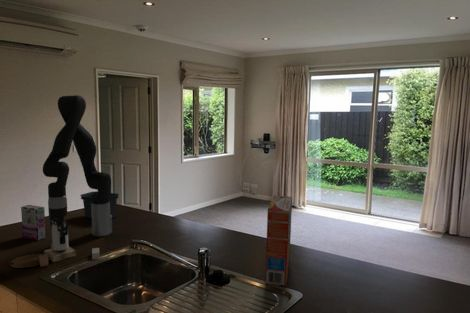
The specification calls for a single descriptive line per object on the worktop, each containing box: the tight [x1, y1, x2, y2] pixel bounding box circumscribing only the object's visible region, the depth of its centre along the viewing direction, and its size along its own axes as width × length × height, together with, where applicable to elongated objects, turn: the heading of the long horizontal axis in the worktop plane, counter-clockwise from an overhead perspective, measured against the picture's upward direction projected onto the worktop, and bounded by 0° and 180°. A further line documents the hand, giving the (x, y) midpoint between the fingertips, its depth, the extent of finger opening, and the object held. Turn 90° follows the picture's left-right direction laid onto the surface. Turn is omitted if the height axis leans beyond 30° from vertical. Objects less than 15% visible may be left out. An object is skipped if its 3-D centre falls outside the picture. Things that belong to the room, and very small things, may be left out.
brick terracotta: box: [38, 253, 49, 267], centre depth 156 cm, size 6×3×3 cm, turn 32°
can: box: [51, 220, 70, 251], centre depth 163 cm, size 6×6×12 cm
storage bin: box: [79, 190, 120, 219], centre depth 221 cm, size 21×16×14 cm
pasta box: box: [264, 195, 293, 287], centre depth 150 cm, size 23×8×30 cm, turn 168°
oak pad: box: [43, 246, 77, 263], centre depth 164 cm, size 10×10×2 cm
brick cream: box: [91, 247, 101, 260], centre depth 164 cm, size 6×3×3 cm
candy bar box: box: [20, 204, 47, 241], centre depth 184 cm, size 11×5×16 cm, turn 68°
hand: (59, 241), depth 163 cm, fingers closed on can, 6 cm apart
